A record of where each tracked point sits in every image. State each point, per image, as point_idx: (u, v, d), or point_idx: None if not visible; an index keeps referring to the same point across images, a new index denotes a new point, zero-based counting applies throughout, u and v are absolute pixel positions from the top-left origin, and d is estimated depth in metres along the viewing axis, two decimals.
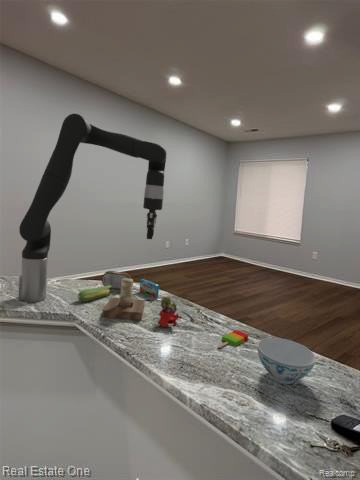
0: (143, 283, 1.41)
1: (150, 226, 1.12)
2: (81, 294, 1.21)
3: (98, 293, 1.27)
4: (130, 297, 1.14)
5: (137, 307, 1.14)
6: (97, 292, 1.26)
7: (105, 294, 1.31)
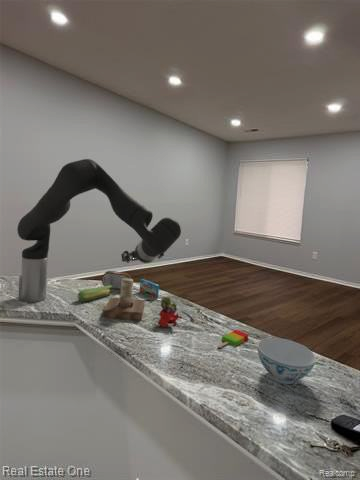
0: (143, 283, 1.41)
1: (122, 258, 1.03)
2: (81, 294, 1.21)
3: (98, 293, 1.27)
4: (130, 297, 1.14)
5: (137, 307, 1.14)
6: (96, 292, 1.26)
7: (105, 294, 1.31)
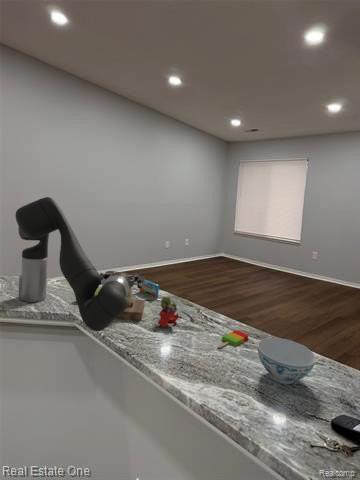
0: None
1: None
2: None
3: None
4: (130, 297, 1.14)
5: (137, 307, 1.14)
6: (96, 292, 1.27)
7: None
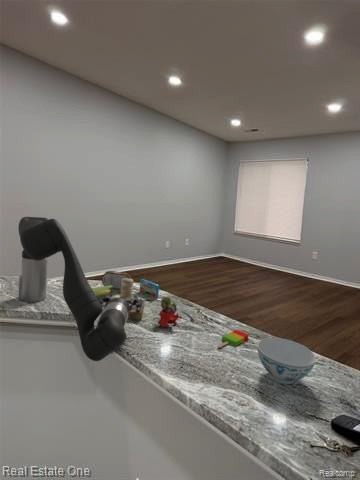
0: (143, 283, 1.41)
1: None
2: None
3: (98, 293, 1.27)
4: (130, 297, 1.14)
5: None
6: (96, 291, 1.27)
7: (105, 294, 1.31)
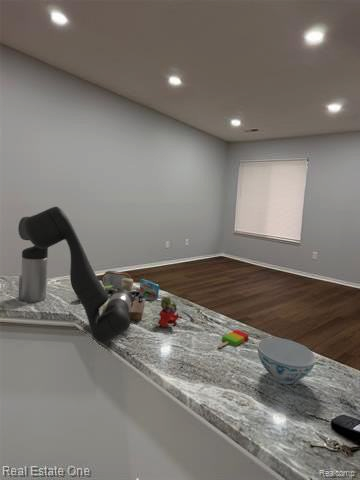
0: (143, 283, 1.41)
1: None
2: None
3: None
4: None
5: (137, 307, 1.14)
6: None
7: None
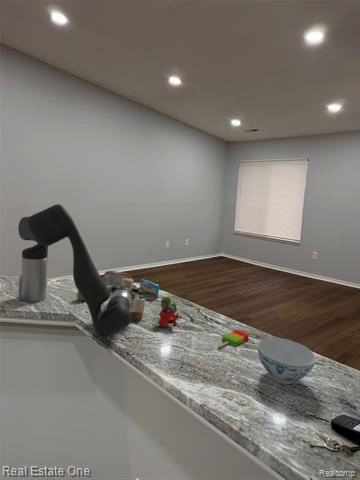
0: (143, 283, 1.41)
1: (112, 289, 1.12)
2: (79, 293, 1.22)
3: None
4: None
5: (137, 307, 1.14)
6: None
7: None
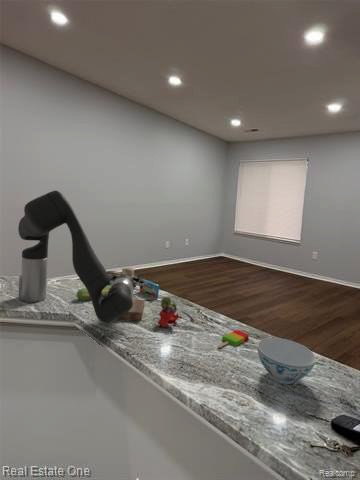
0: None
1: (112, 278, 1.12)
2: (79, 292, 1.23)
3: None
4: None
5: (137, 307, 1.14)
6: None
7: (106, 294, 1.31)
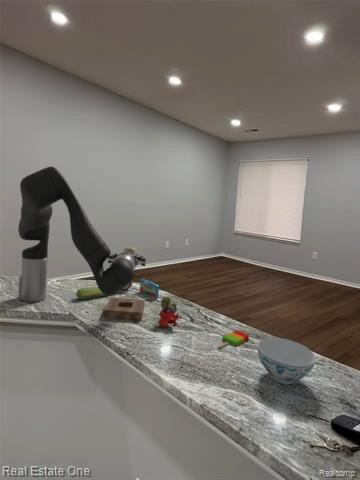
0: (143, 283, 1.41)
1: (114, 257, 1.11)
2: (79, 291, 1.24)
3: (97, 292, 1.28)
4: None
5: (137, 307, 1.14)
6: (96, 291, 1.28)
7: None
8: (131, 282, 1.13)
